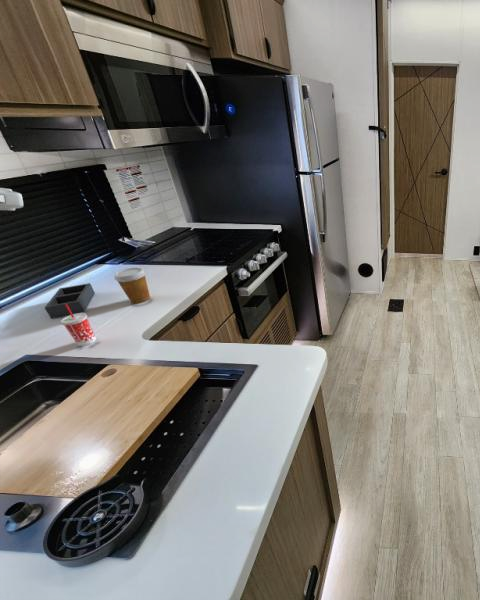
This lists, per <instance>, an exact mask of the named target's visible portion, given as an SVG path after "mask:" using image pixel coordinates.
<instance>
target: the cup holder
mask: <svg viewBox="0 0 480 600" xmlns="http://www.w3.org/2000/svg"><path fill="white" fill-rule="evenodd" d="M95 295H96V292H95V290H94V288H93V286H92V284H91V283H90V282H88V283H83V284H76V285H71V286H65V287H60V288H58V290H57V291H56V292H55V294H54V295H53V296H52V298H51V299H50V300H49V301H48V302H47V304H45V306H44V310H45V311H46V313H47V314H48V316H49V318H50V319H51V320H53V319H57V318H61V317H67V316H70V315H71V314H70V313H69V311H68V309H67V307H66V306H65V304H66V303H67V305H68V307H69V309H70V310H71V312H72V314H77V313H85V312H86V310H87V309H88V307H89V305H90V303H91V302H92V300H93V298H94V296H95Z"/></svg>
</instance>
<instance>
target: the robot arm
mask: <svg viewBox="0 0 480 600" xmlns="http://www.w3.org/2000/svg"><path fill="white" fill-rule="evenodd" d="M22 195H23V194H22V193H20V192H17V191H13V189H11V188H6V187H0V211H5V212H6V211H7V212H8V211H9V212H10V211H16V209H22V208H24V200H23V196H22Z"/></svg>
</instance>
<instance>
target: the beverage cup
mask: <svg viewBox="0 0 480 600" xmlns="http://www.w3.org/2000/svg"><path fill="white" fill-rule="evenodd" d="M65 306H66V307H67V309H68V311H69V313H70V314H71V315H67V316H64V317H63V318H62V319H61V320H60V323H61V325H62V326H64V327H65V329H66V331H67V332H68V333H69V334H70V336H71V338H72V339H73V340H74V342H75V343H76V345H77V346H78V347H85V346H88V345H91V344H93V343H94V342H96V341H97V337H96V336H95V335H96V334H95V333H94V330H93V328H92V326H91V324H90V322H89V320H88V315H87V313H85V312H82V313H77V314H72V312H71V310H70V309H69V307H68V305H67V303H66V304H65Z"/></svg>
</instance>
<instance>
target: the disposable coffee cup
mask: <svg viewBox="0 0 480 600" xmlns="http://www.w3.org/2000/svg"><path fill="white" fill-rule="evenodd" d="M114 280H115V281H116V282H117V283H118V284H119V286H120V288H121V289H122V291H123V292H124V294H125V295H126V296H127V298H128V299H129V301H130V303H131V304H141V303H145V302H147V301H149V300H150V299H151V295H150V291H149V287H148V283H147V282H148V281H147V279H146V271H145V270H144V269H143V268H141V267H130V268H126V269H122V270H119V271H117V272H116V273H115V274H114Z"/></svg>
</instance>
